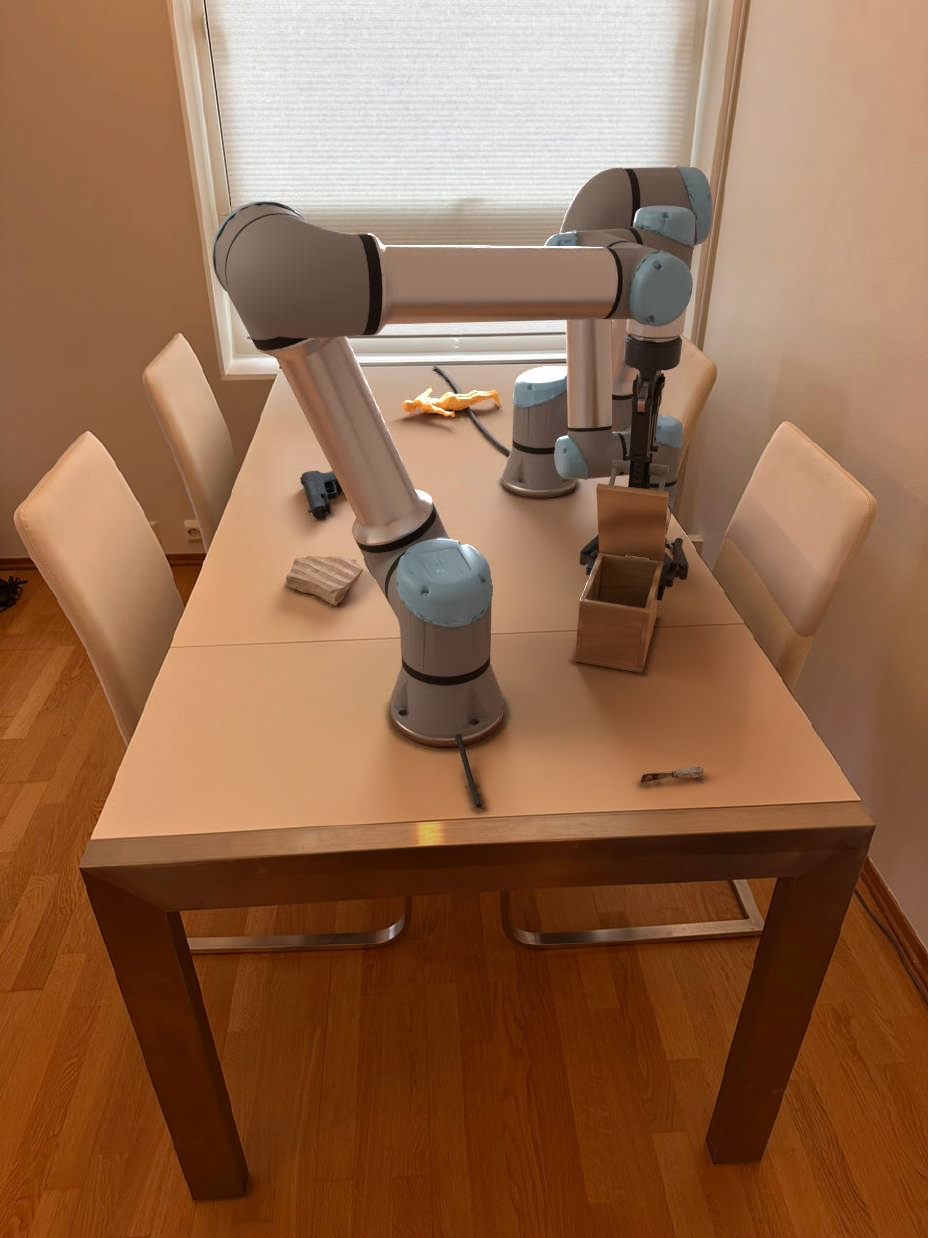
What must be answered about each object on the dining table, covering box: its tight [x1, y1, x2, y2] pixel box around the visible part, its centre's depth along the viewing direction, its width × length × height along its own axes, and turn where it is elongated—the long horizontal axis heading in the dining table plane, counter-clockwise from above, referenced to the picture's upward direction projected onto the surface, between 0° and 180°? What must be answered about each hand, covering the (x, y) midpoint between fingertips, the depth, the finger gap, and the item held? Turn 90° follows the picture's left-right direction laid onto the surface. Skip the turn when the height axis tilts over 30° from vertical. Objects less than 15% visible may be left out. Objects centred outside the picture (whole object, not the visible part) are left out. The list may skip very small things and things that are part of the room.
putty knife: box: [640, 765, 705, 784], centre depth 109 cm, size 1×8×2 cm, turn 103°
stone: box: [284, 555, 364, 606], centre depth 150 cm, size 13×12×2 cm
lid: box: [595, 460, 669, 560], centre depth 131 cm, size 16×10×8 cm
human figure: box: [402, 385, 500, 418], centre depth 225 cm, size 20×20×4 cm
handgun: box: [299, 470, 343, 520], centre depth 179 cm, size 3×18×12 cm
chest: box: [574, 553, 663, 674], centre depth 133 cm, size 16×10×10 cm, turn 162°
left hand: (637, 497), depth 131 cm, fingers closed on lid, 1 cm apart
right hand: (625, 587), depth 136 cm, fingers closed on chest, 10 cm apart
